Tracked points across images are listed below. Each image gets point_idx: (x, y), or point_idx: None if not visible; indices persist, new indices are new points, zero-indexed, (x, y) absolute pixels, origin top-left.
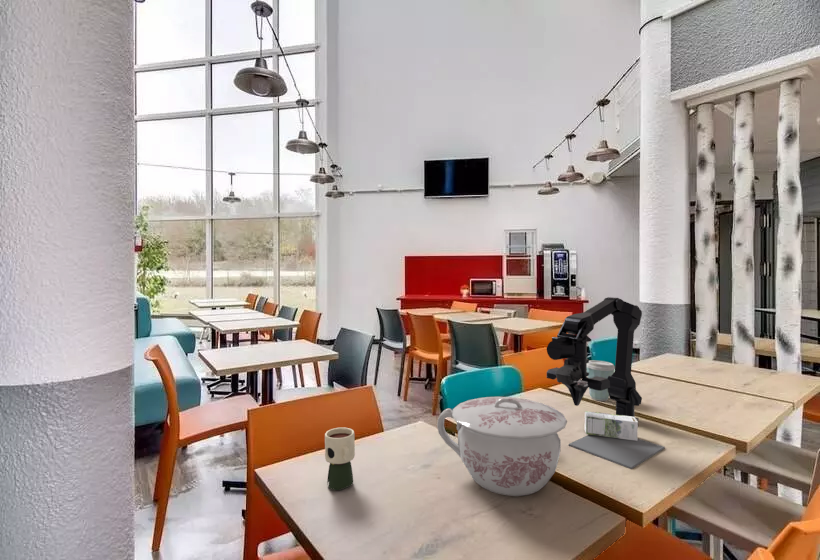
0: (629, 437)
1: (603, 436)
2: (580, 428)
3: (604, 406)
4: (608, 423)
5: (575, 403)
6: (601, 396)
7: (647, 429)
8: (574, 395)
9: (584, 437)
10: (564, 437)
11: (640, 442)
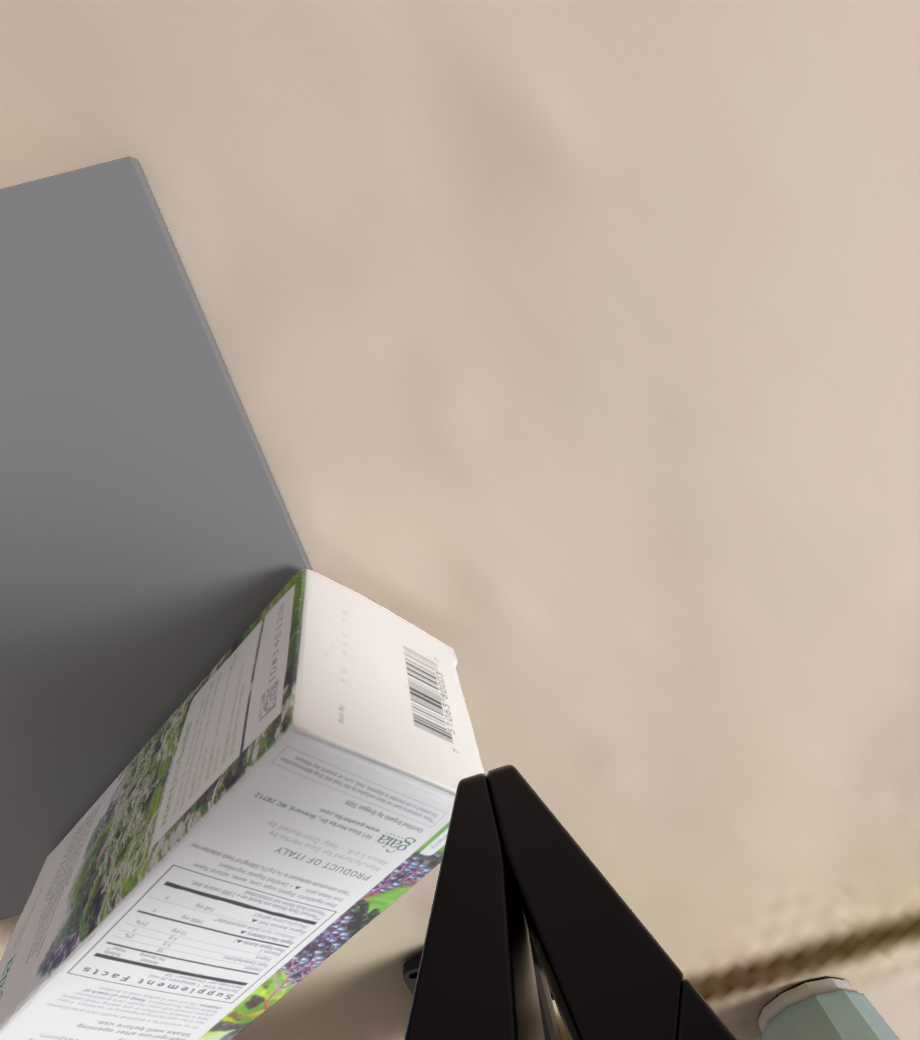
0: (69, 841)
1: None
2: (507, 635)
3: (707, 975)
4: (136, 841)
5: (493, 803)
6: (792, 1036)
7: (287, 996)
8: (572, 1025)
9: (266, 507)
10: (390, 318)
11: (26, 859)
